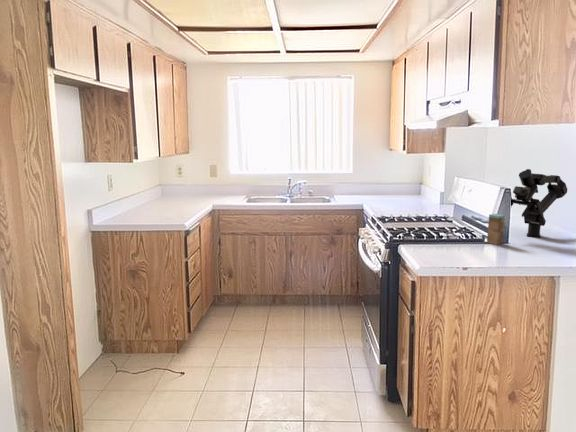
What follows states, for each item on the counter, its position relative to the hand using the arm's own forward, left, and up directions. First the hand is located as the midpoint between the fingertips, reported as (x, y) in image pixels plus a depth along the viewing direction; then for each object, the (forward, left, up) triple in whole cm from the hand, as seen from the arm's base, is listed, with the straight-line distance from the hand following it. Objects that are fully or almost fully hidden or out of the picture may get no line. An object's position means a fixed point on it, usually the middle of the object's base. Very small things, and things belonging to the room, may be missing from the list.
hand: (513, 214), depth 246 cm
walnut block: (+8, -7, -13) cm, 17 cm away
